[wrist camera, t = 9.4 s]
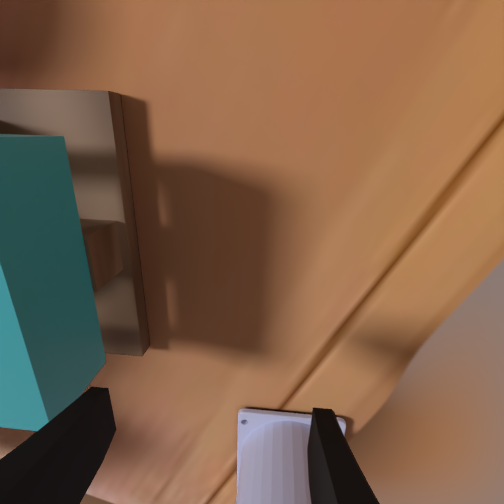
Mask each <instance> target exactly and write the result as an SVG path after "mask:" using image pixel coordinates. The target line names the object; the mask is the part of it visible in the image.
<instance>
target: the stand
mask: <svg viewBox="0 0 504 504" xmlns="http://www.w3.org/2000/svg"><path fill="white" fill-rule="evenodd" d="M0 134H16V135H45V136H64V139H65V144H66V150H67V155H68V160H69V166H70V171H71V176H72V181H73V187H74V192H75V197H76V203H77V208H78V213H79V219H80V224H81V229H82V235H83V240H84V245H85V251H86V256H87V261H88V267H89V272H90V277H91V283H92V288H93V293H94V299H95V304H96V309H97V315H98V320H99V325H100V331H101V336H102V341H103V347H104V352H105V353H109V354H121V355H133V356H143V355H144V354H145V352H146V350H147V349H148V347H149V345H150V342H149V333H148V325H147V316H146V308H145V299H144V291H143V282H142V274H141V265H140V257H139V248H138V240H137V231H136V223H135V215H134V206H133V198H132V189H131V181H130V172H129V164H128V155H127V147H126V138H125V130H124V121H123V113H122V104H121V96H120V94H118V93H114V92H110V91H89V90H45V89H2V88H0Z"/></svg>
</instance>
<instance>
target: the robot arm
mask: <svg viewBox="0 0 504 504" xmlns="http://www.w3.org/2000/svg"><path fill="white" fill-rule="evenodd" d="M115 431H116V426H115V421H114V415H113V410H112V405H111V400H110V395H109V390H108V388H100V387H91V388H90V389H88V390H87V391H86V392H85V393H83V394H82V395H81V396H80V397H79V398H77V399H76V400H75V401H74V402H72V403H71V404H70V405H69V406H68V407H66V408H65V409H64V410H63V411H62V412H60V413H59V414H58V415H57V416H55V417H54V418H53V419H52V420H51V421H49V422H48V423H47V424H46V425H44V426H43V427H42V428H41V429H39V430H38V431H37V432H36V433H34V434H33V435H32V436H31V437H29V438H28V439H27V440H26V441H24V442H23V443H22V444H20V445H19V446H18V447H16V448H15V449H14V450H12V451H11V452H10V453H8V454H7V455H6V456H5V457H3V458H2V459H1V460H0V504H80V502H81V500H82V498H83V497H84V495H85V493H86V491H87V490H88V488H89V486H90V484H91V482H92V480H93V479H94V477H95V475H96V473H97V471H98V469H99V468H100V466H101V464H102V462H103V460H104V457H105V455H106V453H107V451H108V448H109V446H110V443H111V441H112V439H113V436H114V434H115ZM345 431H346V422H345V420H344V419H343V418H340V417H336V416H335V413H334V412H333V410H332V409H323V408H313V412H312V415H309V414H298V413H288V412H277V411H267V410H257V409H246V408H244V409H240V410H239V413H238V447H237V498H236V504H379V502H378V500H377V498H376V497H375V495H374V493H373V491H372V489H371V488H370V486H369V484H368V482H367V481H366V478H365V476H364V475H363V473H362V471H361V469H360V467H359V465H358V463H357V461H356V459H355V457H354V455H353V453H352V452H351V449H350V447H349V445H348V443H347V441H346V439H345V437H344V435H345Z"/></svg>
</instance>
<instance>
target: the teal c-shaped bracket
mask: <svg viewBox="0 0 504 504" xmlns="http://www.w3.org/2000/svg"><path fill="white" fill-rule="evenodd" d="M105 363H106V357H105V352H104V347H103V341H102V336H101V331H100V325H99V320H98V315H97V309H96V304H95V299H94V293H93V288H92V283H91V277H90V272H89V267H88V261H87V256H86V251H85V245H84V240H83V235H82V229H81V224H80V219H79V213H78V208H77V203H76V197H75V192H74V187H73V181H72V176H71V171H70V166H69V160H68V155H67V150H66V144H65V139H64V136H45V135H16V134H0V427H3V428H12V429H22V430H31V431H38V430H39V429H41V428H42V427H43V426H44V425H46V424H47V423H48V422H49V421H51V420H52V419H53V418H54V417H55V416H57V415H58V414H59V413H60V412H62V411H63V410H64V409H65V408H66V407H68V406H69V405H70V404H71V403H72V402H74V401H75V400H76V399H77V398H79V397H80V395H81V394H82V393H83V392H84V390H85V389H86V388H87V386H88V385H89V384H90V382H91V381H92V380H93V378H94V377H95V376H96V374H97V373H98V372H99V370H100V369H101V368H102V367H103V365H104V364H105Z"/></svg>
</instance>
